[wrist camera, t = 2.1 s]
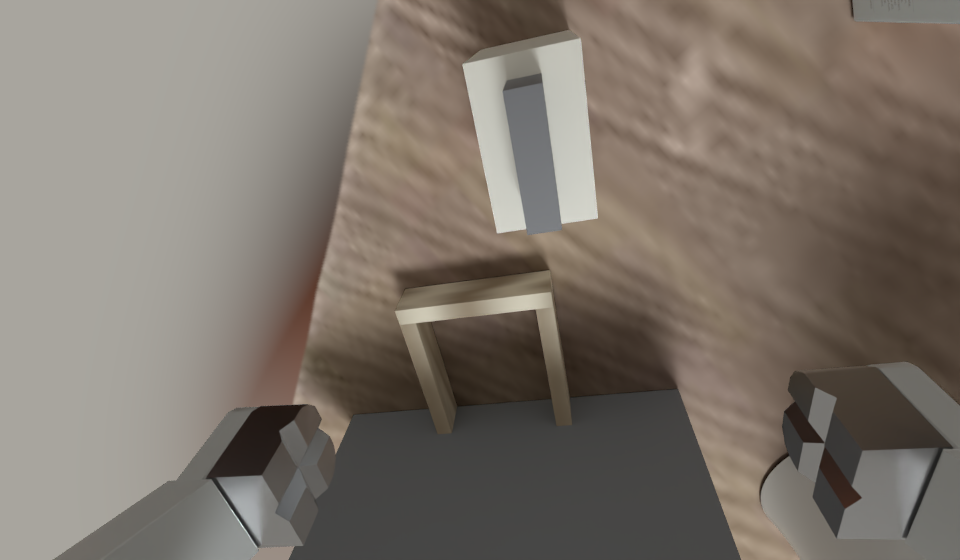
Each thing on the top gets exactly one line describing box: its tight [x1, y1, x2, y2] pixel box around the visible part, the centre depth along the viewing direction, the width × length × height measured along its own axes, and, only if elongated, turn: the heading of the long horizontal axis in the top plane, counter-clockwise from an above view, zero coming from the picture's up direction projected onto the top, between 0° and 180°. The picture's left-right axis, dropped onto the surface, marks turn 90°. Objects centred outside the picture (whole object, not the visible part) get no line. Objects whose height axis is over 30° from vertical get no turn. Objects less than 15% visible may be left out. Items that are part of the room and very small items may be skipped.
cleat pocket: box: [395, 270, 572, 434], centre depth 36 cm, size 11×12×3 cm
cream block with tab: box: [462, 30, 598, 235], centre depth 24 cm, size 5×8×11 cm, turn 12°
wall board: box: [289, 389, 741, 560], centre depth 33 cm, size 28×2×18 cm, turn 102°
